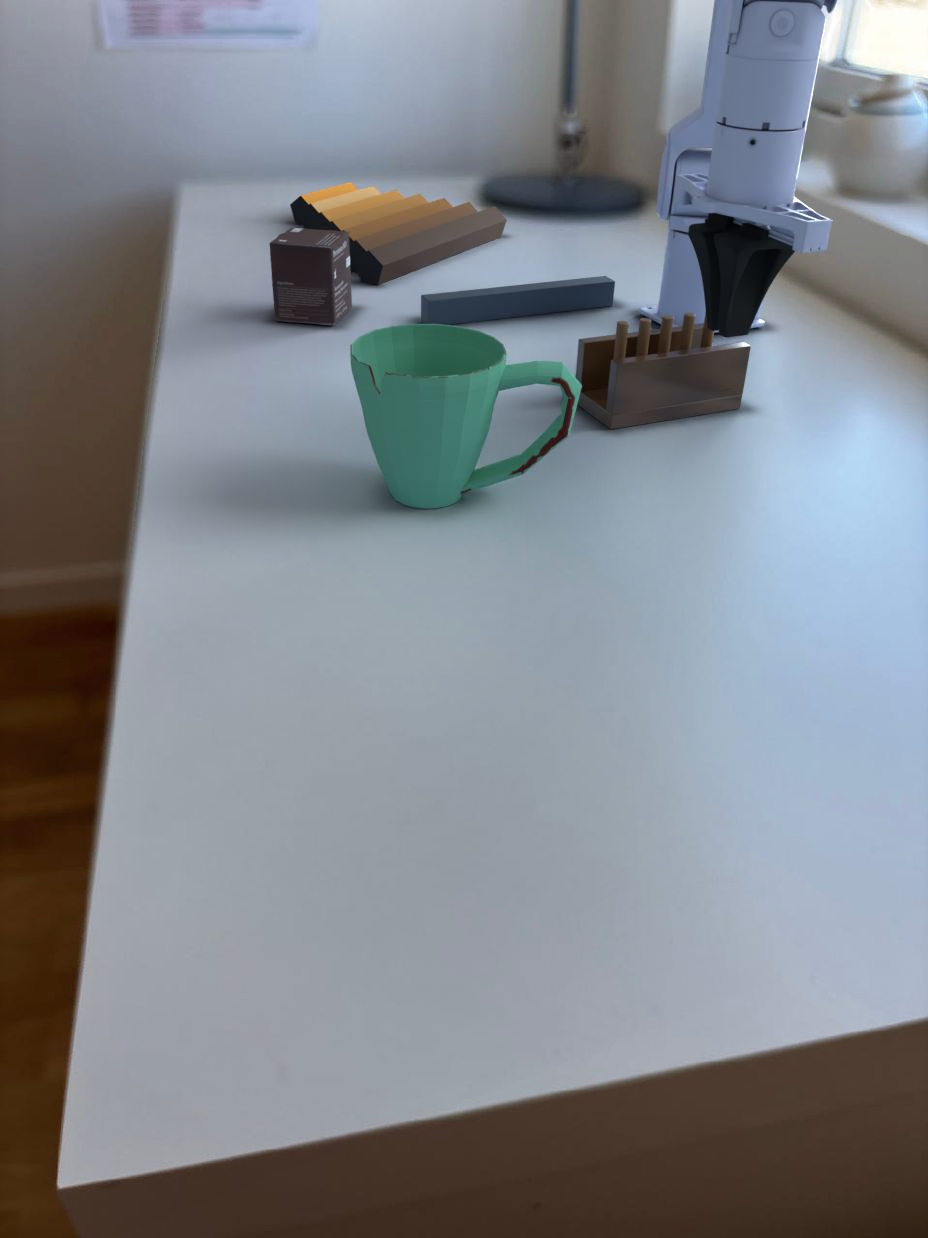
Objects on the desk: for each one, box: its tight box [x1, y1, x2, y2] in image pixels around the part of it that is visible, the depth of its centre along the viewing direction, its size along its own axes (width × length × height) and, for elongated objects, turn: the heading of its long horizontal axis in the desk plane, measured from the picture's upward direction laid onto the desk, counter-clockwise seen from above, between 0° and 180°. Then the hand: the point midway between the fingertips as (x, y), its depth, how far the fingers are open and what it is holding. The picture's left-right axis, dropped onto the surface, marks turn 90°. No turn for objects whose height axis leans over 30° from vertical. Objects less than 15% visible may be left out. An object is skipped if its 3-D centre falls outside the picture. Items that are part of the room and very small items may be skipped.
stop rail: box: [420, 275, 616, 325], centre depth 106 cm, size 20×2×2 cm, turn 114°
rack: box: [574, 312, 752, 430], centre depth 86 cm, size 12×6×7 cm, turn 114°
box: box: [269, 227, 353, 326], centre depth 103 cm, size 6×6×7 cm
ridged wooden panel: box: [289, 181, 508, 286], centre depth 127 cm, size 25×3×25 cm
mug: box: [349, 323, 582, 510], centre depth 71 cm, size 15×10×10 cm
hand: (727, 331), depth 78 cm, fingers closed
